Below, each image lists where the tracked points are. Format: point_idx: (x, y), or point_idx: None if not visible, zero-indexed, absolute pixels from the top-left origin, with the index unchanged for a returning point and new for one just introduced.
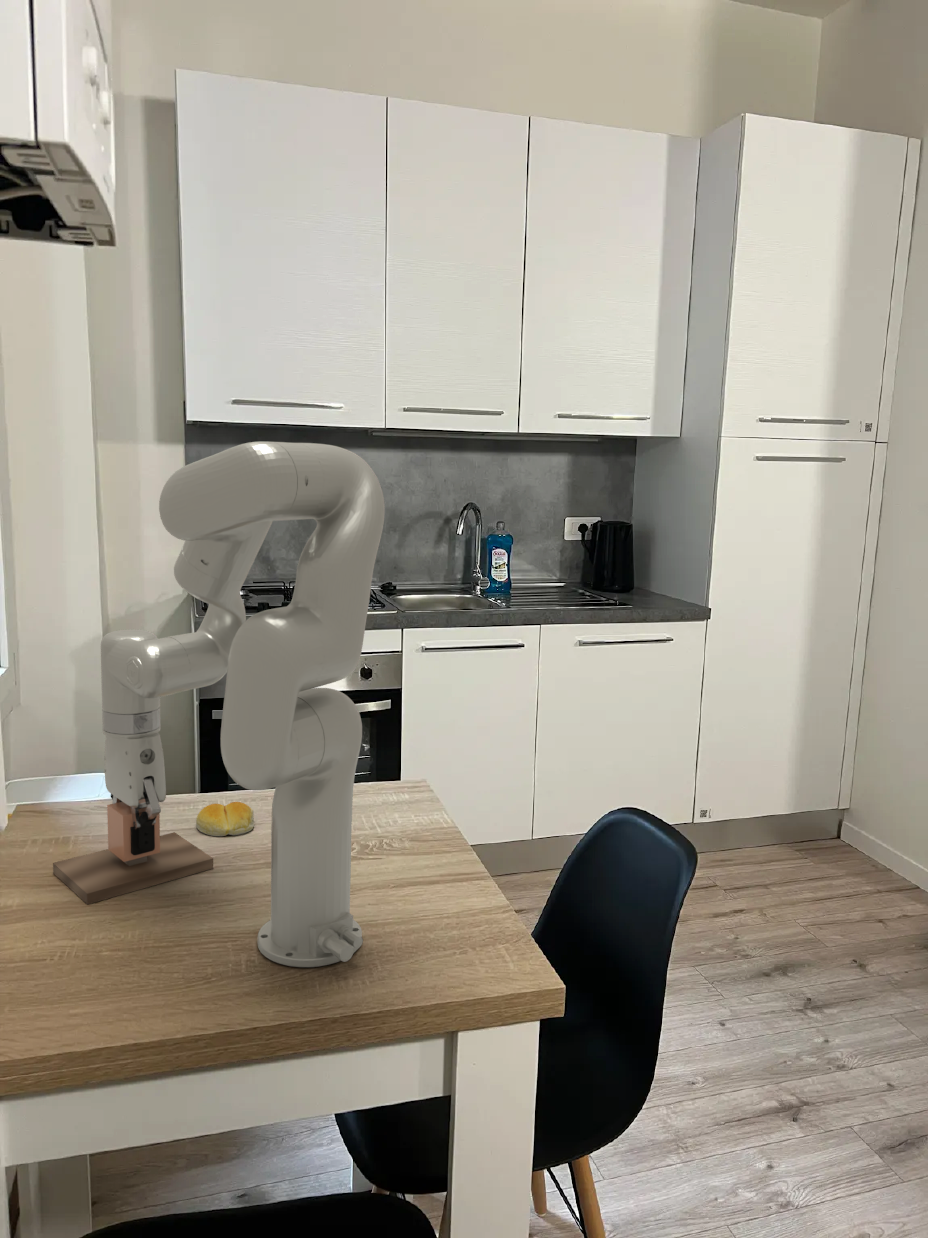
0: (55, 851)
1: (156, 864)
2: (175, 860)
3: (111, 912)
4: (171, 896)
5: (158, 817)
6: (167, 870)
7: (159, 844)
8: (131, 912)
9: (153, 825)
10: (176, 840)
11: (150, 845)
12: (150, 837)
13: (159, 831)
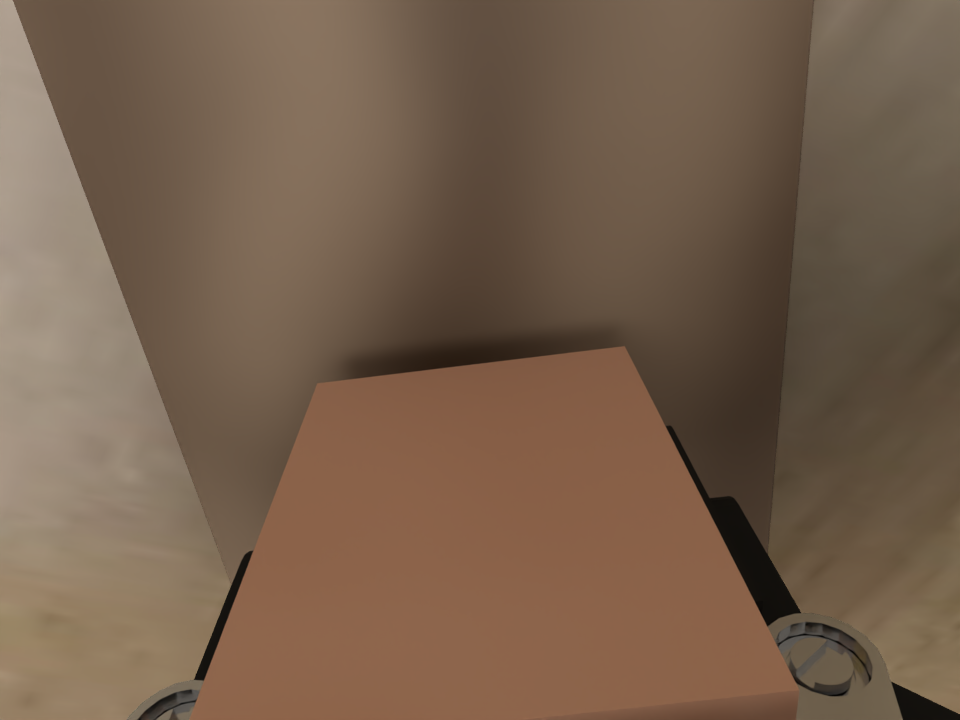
0: (17, 662)
1: (630, 346)
2: (649, 206)
3: (880, 603)
4: (954, 331)
5: (734, 578)
6: (778, 314)
7: (641, 383)
8: (952, 539)
9: (750, 588)
10: (233, 47)
11: (730, 501)
12: (761, 553)
13: (677, 453)
